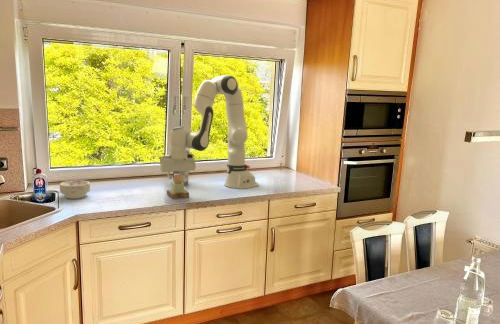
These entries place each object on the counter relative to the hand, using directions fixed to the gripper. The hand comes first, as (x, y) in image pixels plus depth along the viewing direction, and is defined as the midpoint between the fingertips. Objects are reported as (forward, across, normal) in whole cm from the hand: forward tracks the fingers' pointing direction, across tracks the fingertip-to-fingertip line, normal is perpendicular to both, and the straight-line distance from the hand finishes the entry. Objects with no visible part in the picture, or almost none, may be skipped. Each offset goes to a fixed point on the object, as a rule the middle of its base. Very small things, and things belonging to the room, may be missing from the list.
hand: (178, 178), depth 218 cm
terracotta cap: (+3, 0, 0) cm, 3 cm away
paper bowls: (+10, -53, +17) cm, 57 cm away
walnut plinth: (+10, 0, 0) cm, 10 cm away
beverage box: (+10, +10, +26) cm, 30 cm away
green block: (+8, 0, 0) cm, 8 cm away
